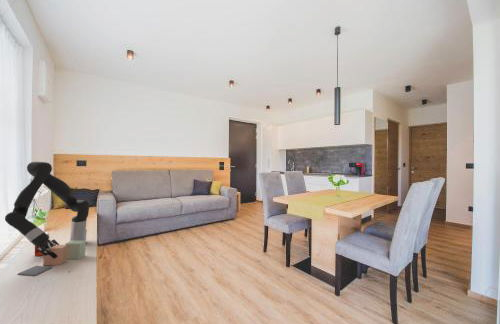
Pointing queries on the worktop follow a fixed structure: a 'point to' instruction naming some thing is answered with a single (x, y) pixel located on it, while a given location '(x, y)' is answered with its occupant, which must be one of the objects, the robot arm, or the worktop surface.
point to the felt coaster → (34, 270)
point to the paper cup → (39, 247)
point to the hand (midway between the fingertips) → (58, 255)
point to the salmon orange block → (61, 255)
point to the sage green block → (75, 249)
